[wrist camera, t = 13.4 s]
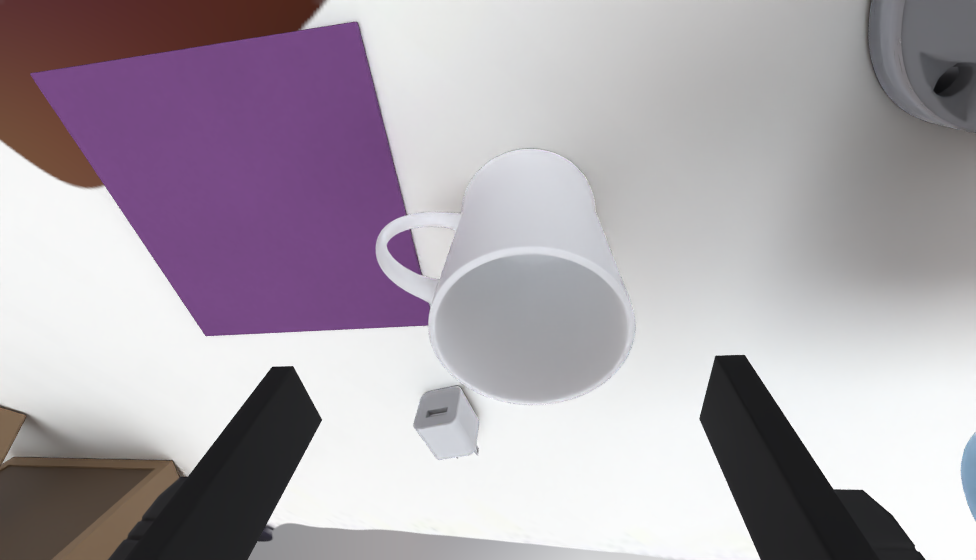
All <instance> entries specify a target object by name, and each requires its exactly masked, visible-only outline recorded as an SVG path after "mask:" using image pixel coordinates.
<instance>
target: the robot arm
mask: <svg viewBox="0 0 976 560" xmlns="http://www.w3.org/2000/svg"><path fill="white" fill-rule="evenodd" d="M869 47H870V56H871V60H872V64H873V68H874V71H875V73H876V76H877V78H878V81H879V83H880V84H881V86H882V88H883V89H884V91H885V93H886V94H887V95H888V96H889V97H890V98H891V100H892V101H893V102H894V103H895V104H897V105H898V106H899V107H900V108H901V109H902V110H904V111H906V112H907V113H909V114H911V115H912V116H914V117H916V118H919V119H921V120H924V121H926V122H930V123H934V124H938V125H942V126H946V127H951V128H955V129H959V130H964V131H968V132H973V133H976V0H872V2H871V7H870V17H869ZM699 419H700V421H701V423H702V426H703V428H704V430H705V433H706V435H707V437H708V440H709V442H710V444H711V446H712V449H713V451H714V453H715V456H716V458H717V460H718V463H719V465H720V467H721V469H722V472H723V474H724V476H725V479H726V481H727V483H728V486H729V488H730V490H731V492H732V495H733V497H734V499H735V502H736V504H737V506H738V508H739V511H740V513H741V515H742V518H743V520H744V522H745V525H746V527H747V529H748V531H749V534H750V536H751V538H752V541H753V543H754V545H755V548H756V550H757V552H758V554H759V557H760V559H761V560H925V558H924V557H923V556H922V554H921V553H920V552H918V551H916V549H915V545H914V544H913V542H912V541H911V540H910V538H909V537H908V536H907V534H906V533H905V532H904V530H903V529H902V528H901V526H900V525H899V524H898V522H897V521H896V520H895V518H894V517H893V516H892V515H891V514H890V513H889V512H888V511H887V510H885V509H884V508H883V507H882V506H881V505H880V504H878V503H877V502H876V501H875V500H874V499H873V498H871V497H870V496H869V495H868V494H867V493H866V492H864V491H863V490H838V489H833V488H832V487H831V485H830V484H829V482H828V481H827V479H826V478H825V476H824V475H823V473H822V472H821V470H820V468H819V467H818V465H817V464H816V462H815V461H814V459H813V458H812V456H811V455H810V453H809V452H808V450H807V449H806V447H805V446H804V444H803V443H802V441H801V440H800V438H799V437H798V435H797V434H796V432H795V431H794V429H793V428H792V426H791V425H790V423H789V422H788V420H787V418H786V417H785V415H784V414H783V412H782V411H781V409H780V408H779V406H778V405H777V403H776V402H775V400H774V399H773V397H772V396H771V394H770V393H769V391H768V390H767V388H766V387H765V385H764V384H763V382H762V381H761V379H760V378H759V376H758V375H757V373H756V371H755V370H754V368H753V367H752V365H751V364H750V362H749V361H748V359H747V358H746V356H745V355H725V356H715V360H714V363H713V367H712V371H711V375H710V379H709V383H708V387H707V391H706V395H705V399H704V403H703V407H702V410H701V414H700V418H699ZM321 421H322V419H321V417H320V415H319V413H318V411H317V410H316V408H315V406H314V404H313V402H312V400H311V399H310V397H309V395H308V393H307V391H306V389H305V387H304V386H303V384H302V382H301V380H300V378H299V376H298V374H297V373H296V371H295V369H294V367H293V366H285V367H272V368H271V369H270V370H269V372H268V373H267V374H266V376H265V377H264V378H263V379H262V381H261V382H260V383H259V385H258V386H257V387H256V389H255V390H254V391H253V393H252V394H251V395H250V396H249V398H248V399H247V400H246V402H245V403H244V404H243V406H242V407H241V408H240V410H239V411H238V412H237V413H236V415H235V416H234V417H233V419H232V420H231V421H230V423H229V424H228V425H227V426H226V428H225V429H224V430H223V432H222V433H221V434H220V436H219V437H218V438H217V440H216V441H215V442H214V443H213V445H212V446H211V447H210V449H209V450H208V451H207V453H206V454H205V455H204V457H203V458H202V459H201V460H200V462H199V463H198V464H197V466H196V467H195V468H194V470H193V471H192V472H191V474H190V475H189V476H188V477H180V478H179V479H177V480H176V481H175V482H174V483H173V484H172V485H170V486H169V487H168V488H167V489H166V490H165V491H164V492H162V493H161V494H160V495H159V496H158V497H157V499H156V500H155V501H154V502H153V504H152V505H151V506H150V507H149V509H148V510H147V511H146V512H145V514H144V515H143V516H142V520H141V521H140V522H139V521H138V522H137V524H136V525H135V526H134V527H133V529H132V530H131V531H130V532H129V534H128V537H127V539H126V540H123V541H122V542H121V544H120V545H119V546H118V547H117V549H116V550H115V551H114V552H113V554H112V555H111V556H110V558H109V559H108V560H248V558H249V556H250V554H251V552H252V550H253V548H254V547H255V545H256V543H257V541H258V539H259V537H260V535H261V533H262V532H263V530H264V528H265V526H266V524H267V522H268V520H269V518H270V517H271V515H272V513H273V511H274V509H275V507H276V505H277V503H278V502H279V500H280V498H281V496H282V494H283V492H284V490H285V488H286V487H287V485H288V483H289V481H290V479H291V477H292V475H293V473H294V472H295V470H296V468H297V466H298V464H299V462H300V460H301V458H302V457H303V455H304V453H305V451H306V449H307V447H308V445H309V443H310V442H311V440H312V438H313V436H314V434H315V432H316V430H317V428H318V427H319V425H320V423H321ZM961 479H962V485H963V489H964V493H965V497H966V500H967V503H968V506H969V508H970V511H971V513H972V515H973V517H974V519H975V521H976V432H975V433H974V434H973V436H972V437H971V438H970V440H969V441H968V443H967V445H966V447H965V449H964V453H963V457H962V462H961Z"/></svg>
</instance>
